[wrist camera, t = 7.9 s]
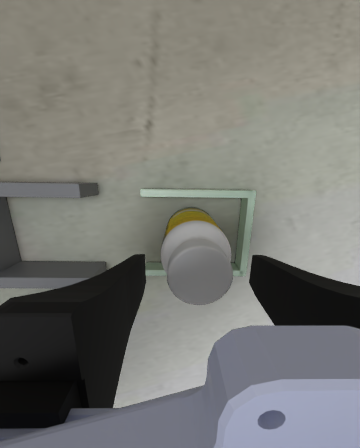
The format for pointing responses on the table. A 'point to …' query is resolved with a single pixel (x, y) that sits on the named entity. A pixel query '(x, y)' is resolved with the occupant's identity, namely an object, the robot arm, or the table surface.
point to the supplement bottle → (196, 257)
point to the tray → (243, 230)
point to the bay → (40, 270)
